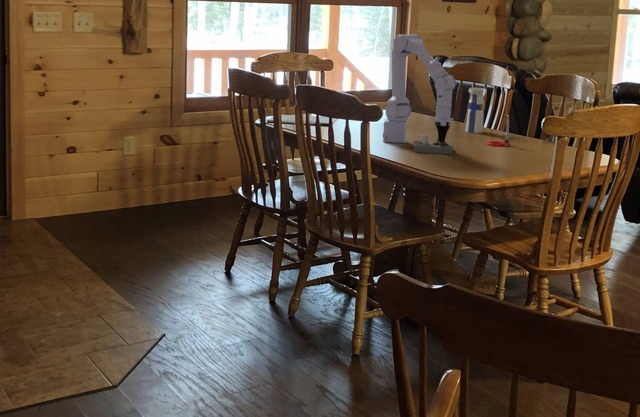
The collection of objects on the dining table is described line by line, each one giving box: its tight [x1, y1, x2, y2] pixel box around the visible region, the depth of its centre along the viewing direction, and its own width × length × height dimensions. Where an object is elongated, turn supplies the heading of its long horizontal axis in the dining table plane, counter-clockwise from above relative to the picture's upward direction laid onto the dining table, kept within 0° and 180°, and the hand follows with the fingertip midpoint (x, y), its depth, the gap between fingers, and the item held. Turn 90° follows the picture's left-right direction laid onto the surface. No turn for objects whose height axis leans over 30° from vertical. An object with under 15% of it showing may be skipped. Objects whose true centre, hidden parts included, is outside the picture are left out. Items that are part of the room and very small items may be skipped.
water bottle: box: [465, 76, 488, 134], centre depth 389 cm, size 8×9×25 cm
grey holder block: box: [413, 134, 454, 155], centre depth 343 cm, size 15×11×6 cm
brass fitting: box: [435, 128, 449, 146], centre depth 342 cm, size 4×4×9 cm
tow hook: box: [485, 114, 510, 147], centre depth 360 cm, size 8×13×9 cm
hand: (441, 141), depth 343 cm, fingers closed on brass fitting, 4 cm apart
